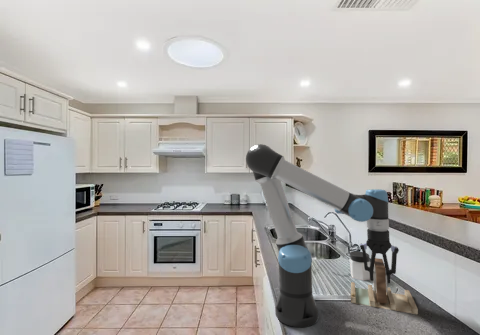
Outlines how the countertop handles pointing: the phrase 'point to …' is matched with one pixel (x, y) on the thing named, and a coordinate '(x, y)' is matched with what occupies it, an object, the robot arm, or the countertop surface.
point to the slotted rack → (393, 300)
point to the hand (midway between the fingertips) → (380, 289)
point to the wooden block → (380, 280)
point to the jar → (359, 266)
